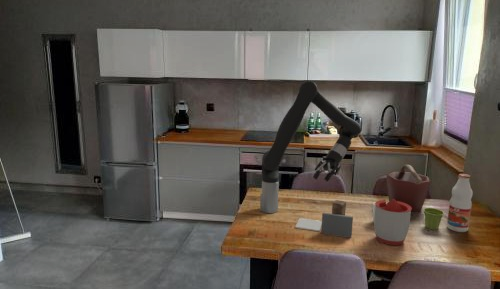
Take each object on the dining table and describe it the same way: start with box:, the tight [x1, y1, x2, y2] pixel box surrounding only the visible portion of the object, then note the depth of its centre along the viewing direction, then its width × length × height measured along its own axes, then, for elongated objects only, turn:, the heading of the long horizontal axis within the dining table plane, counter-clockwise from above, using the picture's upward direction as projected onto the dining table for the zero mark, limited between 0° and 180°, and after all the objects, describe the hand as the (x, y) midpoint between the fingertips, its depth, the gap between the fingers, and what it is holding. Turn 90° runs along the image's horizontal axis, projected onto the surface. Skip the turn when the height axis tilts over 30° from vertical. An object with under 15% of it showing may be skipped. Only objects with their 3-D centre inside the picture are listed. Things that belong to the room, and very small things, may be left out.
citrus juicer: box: [373, 199, 412, 246], centre depth 170 cm, size 16×17×20 cm
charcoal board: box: [320, 212, 354, 239], centre depth 174 cm, size 14×2×10 cm, turn 72°
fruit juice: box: [446, 173, 474, 233], centre depth 182 cm, size 9×9×28 cm
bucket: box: [386, 164, 431, 214], centre depth 210 cm, size 24×22×25 cm
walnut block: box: [331, 199, 347, 216], centre depth 180 cm, size 5×5×14 cm
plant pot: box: [423, 207, 445, 231], centre depth 185 cm, size 9×9×9 cm
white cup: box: [372, 201, 388, 224], centre depth 190 cm, size 8×8×10 cm
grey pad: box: [294, 217, 322, 233], centre depth 186 cm, size 12×12×1 cm
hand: (320, 179), depth 184 cm, fingers open, 8 cm apart
